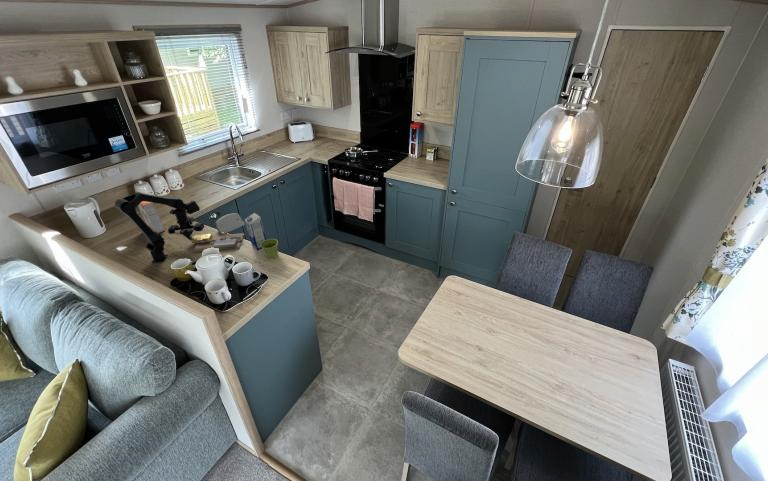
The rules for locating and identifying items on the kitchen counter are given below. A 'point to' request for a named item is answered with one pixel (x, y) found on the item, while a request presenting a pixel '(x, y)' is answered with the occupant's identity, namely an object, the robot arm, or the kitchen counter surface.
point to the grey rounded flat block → (229, 223)
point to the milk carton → (255, 230)
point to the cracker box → (151, 216)
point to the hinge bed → (211, 244)
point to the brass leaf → (201, 238)
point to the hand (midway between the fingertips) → (191, 240)
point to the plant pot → (270, 248)
